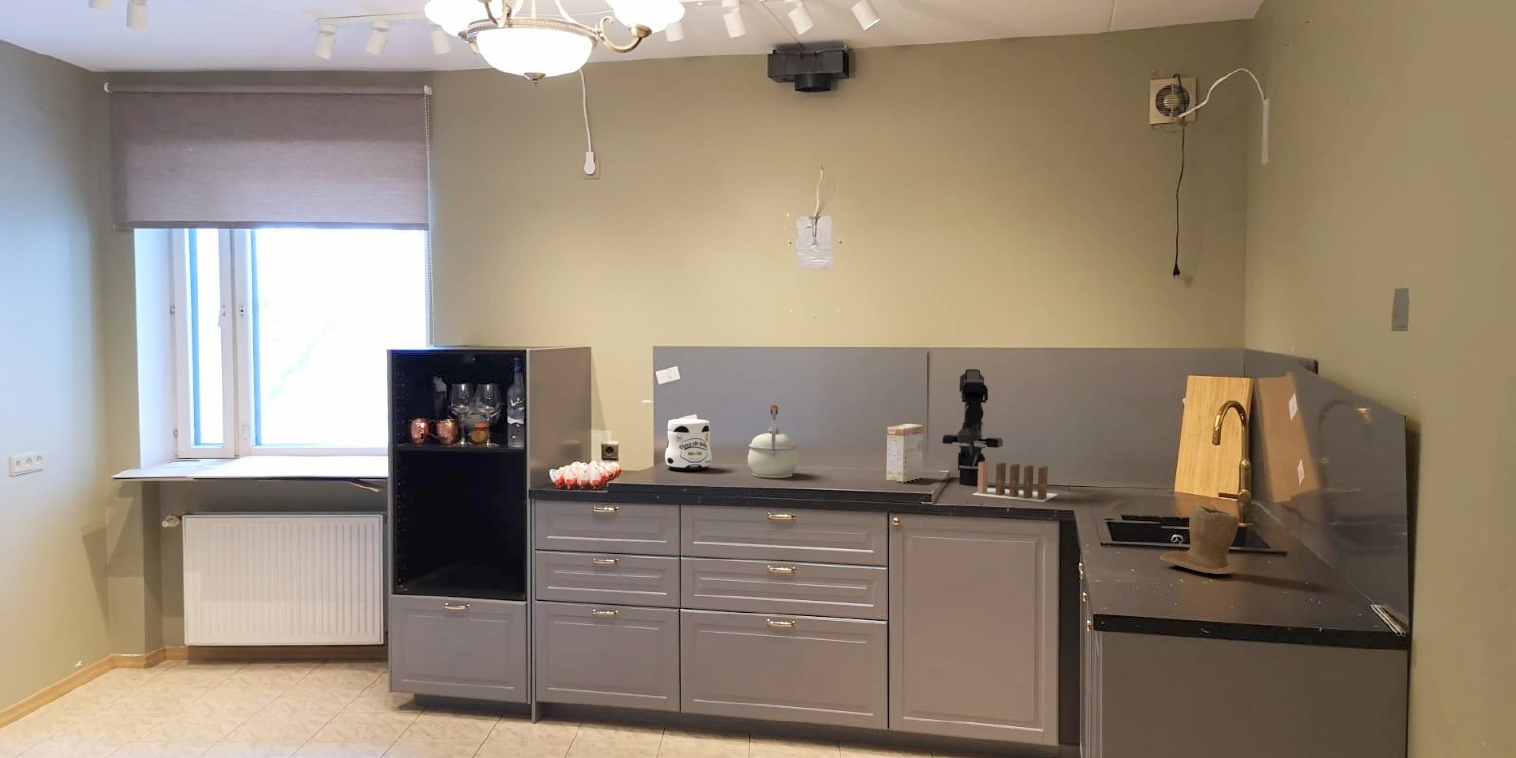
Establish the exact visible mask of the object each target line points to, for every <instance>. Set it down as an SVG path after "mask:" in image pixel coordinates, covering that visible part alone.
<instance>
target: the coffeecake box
mask: <svg viewBox="0 0 1516 758" xmlns="http://www.w3.org/2000/svg"><path fill="white" fill-rule="evenodd" d="M886 429H887V432H886V433H887V437H886V438H887V439H886V441H887V442H886V443H887V444H886V479H887V480H896V481H905V480H910V479H914V478H918V477H922V478H923V455H924V454H923V449H924V447H923V446H924V445H923V443H924V424H923V425H922V424H914V423H903V424H898V425H897V424H896V425H892V426H887V428H886Z"/></svg>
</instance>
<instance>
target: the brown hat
mask: <svg viewBox="0 0 1516 758" xmlns="http://www.w3.org/2000/svg"><path fill="white" fill-rule="evenodd" d="M1188 524H1189V525H1188V526H1189V527H1188V529H1189V530H1188V531H1189V539H1190V540H1189V541H1190V542H1189V543H1190V546H1189V550H1187V551H1177V550H1173V551H1172V550H1171V551H1168V552H1165V553H1163V554H1161V555H1160V557H1159V560H1160V561H1161V560H1164V561H1168V562H1173V563H1177V564H1184V565H1190V566H1194V567H1199V568H1207V569H1218V568H1224V567H1226V566H1228V565H1229V564H1230V563H1229V562H1228V560H1227V559H1228V553H1229V551H1230V549H1231V547H1232V544H1233V543H1234V540H1235V538H1236V535H1237V533H1238V532H1237V531H1238V528H1239V518H1238V516H1237V515H1236V514H1234V513H1231V512H1227V511H1224V510H1219V509H1215V508H1210V507H1206V506H1201V505H1196V506H1195V507H1193V509H1192V511H1191V513H1190V516H1189V523H1188Z"/></svg>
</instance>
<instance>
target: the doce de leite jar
mask: <svg viewBox="0 0 1516 758" xmlns="http://www.w3.org/2000/svg"><path fill="white" fill-rule="evenodd" d="M710 430H711V424H710V420H707V419H698V418H697V419H695V418H694V419H693V418H678V419H670V420H668V423H667V447H666V449H665V454H664V459H665V465H666V466H667V467H668V468H670V469H673V470H676V471H677V470H679V471H699V470H705V469H707V468H709V467H710V466H711V464H712V459H713V453H712V449H711V444H710V437H711V432H710Z"/></svg>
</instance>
